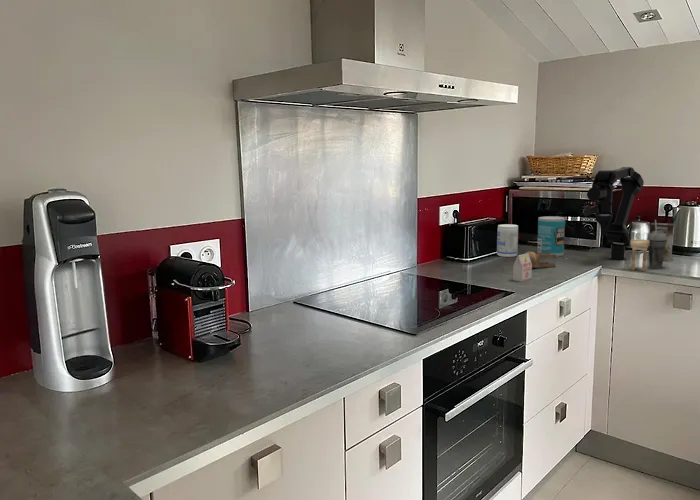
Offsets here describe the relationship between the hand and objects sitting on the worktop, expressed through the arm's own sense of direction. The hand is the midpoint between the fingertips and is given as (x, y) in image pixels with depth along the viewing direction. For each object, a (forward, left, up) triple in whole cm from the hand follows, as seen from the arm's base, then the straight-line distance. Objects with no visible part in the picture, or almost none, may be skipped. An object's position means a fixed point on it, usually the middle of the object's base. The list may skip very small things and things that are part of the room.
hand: (603, 235), depth 244 cm
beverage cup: (+4, +21, -12) cm, 24 cm away
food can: (-14, -23, -12) cm, 30 cm away
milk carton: (+44, -27, -12) cm, 53 cm away
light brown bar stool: (+10, +14, -12) cm, 21 cm away
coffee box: (-16, +23, -12) cm, 31 cm away
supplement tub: (-7, -42, -12) cm, 44 cm away
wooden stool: (+13, -20, -10) cm, 25 cm away
